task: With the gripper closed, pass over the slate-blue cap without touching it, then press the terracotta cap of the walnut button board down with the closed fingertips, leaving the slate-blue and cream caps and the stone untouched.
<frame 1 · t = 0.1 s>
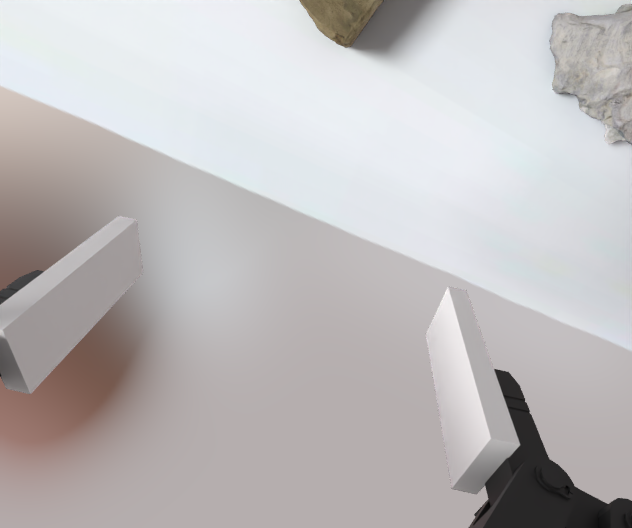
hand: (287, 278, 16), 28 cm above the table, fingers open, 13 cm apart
stone: (590, 70, 34), on the table
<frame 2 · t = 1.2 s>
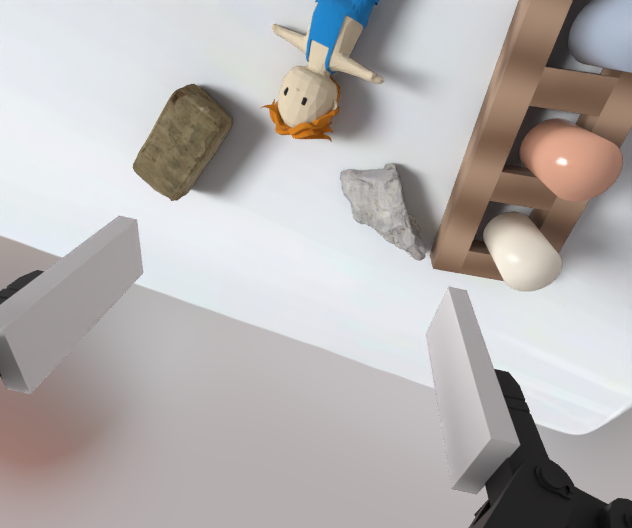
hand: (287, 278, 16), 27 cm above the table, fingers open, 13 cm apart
cap terracotta: (565, 157, 30), point 7 cm above the table, slide at 0.0 cm
cap slate: (629, 30, 26), point 7 cm above the table, slide at 0.0 cm
toy: (326, 54, 35), on the table
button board: (535, 137, 36), on the table
stone block: (193, 139, 41), on the table
stone: (384, 203, 42), on the table
cap cream: (518, 249, 35), point 7 cm above the table, slide at 0.0 cm
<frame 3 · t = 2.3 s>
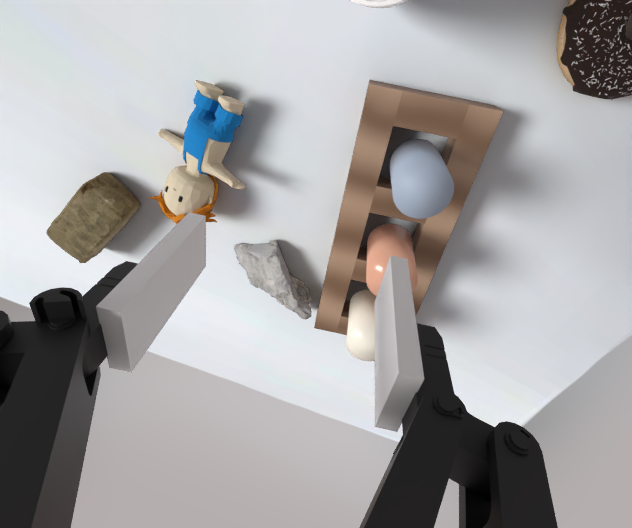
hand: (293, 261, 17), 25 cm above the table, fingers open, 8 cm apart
cap terracotta: (390, 260, 38), point 7 cm above the table, slide at 0.0 cm
cap slate: (418, 176, 33), point 7 cm above the table, slide at 0.0 cm
toy: (209, 153, 41), on the table
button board: (388, 229, 43), on the table
stone block: (107, 210, 47), on the table
stone: (277, 268, 49), on the table
cap cream: (368, 323, 43), point 7 cm above the table, slide at 0.0 cm
donut: (624, 19, 31), on the table
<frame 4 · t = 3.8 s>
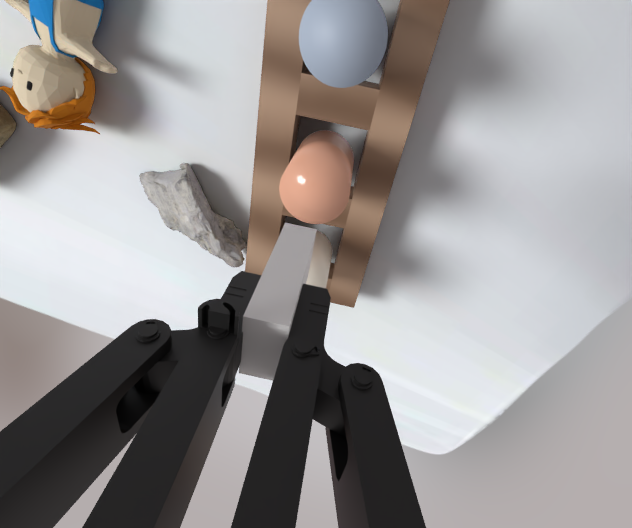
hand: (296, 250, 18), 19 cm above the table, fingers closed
cap terracotta: (320, 174, 28), point 7 cm above the table, slide at 0.0 cm
cap slate: (346, 36, 23), point 7 cm above the table, slide at 0.0 cm
toy: (82, 35, 31), on the table
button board: (328, 148, 33), on the table
stone: (199, 206, 39), on the table
cap cream: (302, 269, 33), point 7 cm above the table, slide at 0.0 cm
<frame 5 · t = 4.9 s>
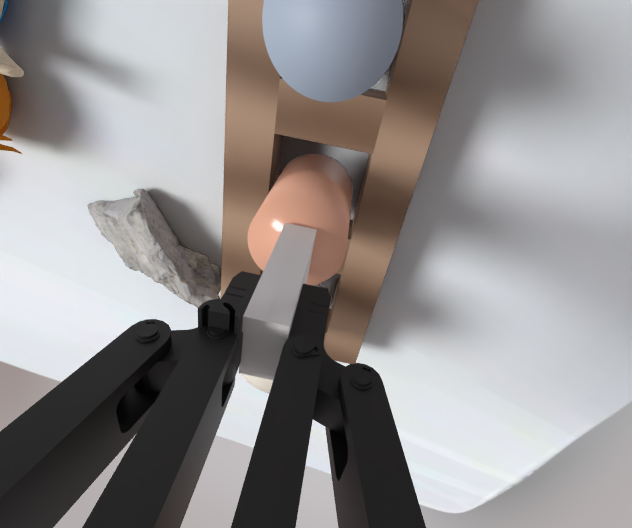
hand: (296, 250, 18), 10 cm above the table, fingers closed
cap terracotta: (307, 214, 21), point 7 cm above the table, slide at -0.1 cm, touching gripper
cap slate: (338, 25, 15), point 7 cm above the table, slide at 0.0 cm
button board: (320, 174, 26), on the table
stone: (166, 239, 32), on the table
cap cream: (287, 330, 26), point 7 cm above the table, slide at 0.0 cm
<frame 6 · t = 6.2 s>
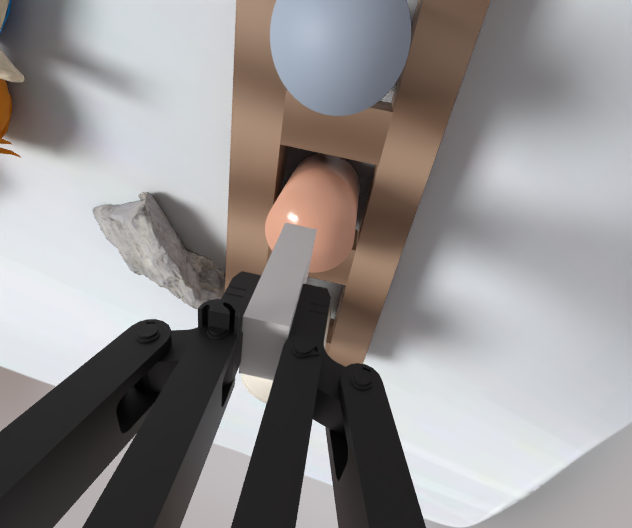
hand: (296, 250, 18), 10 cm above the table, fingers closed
cap terracotta: (317, 208, 23), point 4 cm above the table, slide at -2.5 cm
cap slate: (346, 39, 15), point 7 cm above the table, slide at 0.0 cm
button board: (325, 184, 26), on the table
stone: (170, 243, 31), on the table, touching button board
cap cream: (290, 341, 25), point 7 cm above the table, slide at 0.0 cm
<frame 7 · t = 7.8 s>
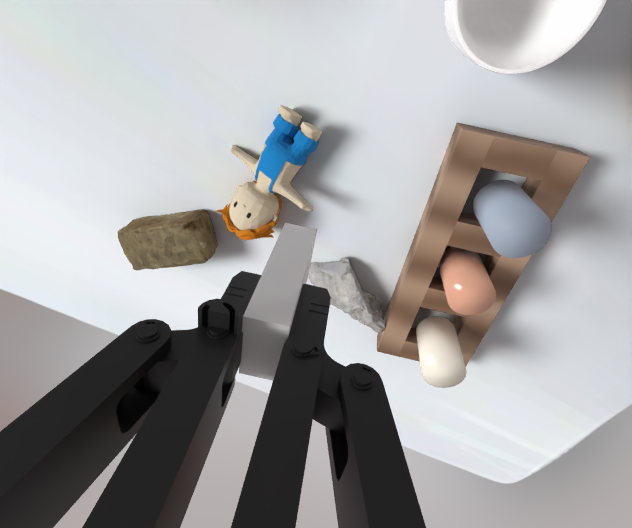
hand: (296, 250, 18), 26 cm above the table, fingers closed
cap terracotta: (464, 278, 41), point 4 cm above the table, slide at -2.5 cm
cap slate: (508, 217, 34), point 7 cm above the table, slide at 0.0 cm
toy: (275, 171, 43), on the table
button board: (458, 259, 45), on the table
stone block: (178, 230, 49), on the table
stone: (347, 284, 50), on the table
cap cream: (439, 350, 44), point 7 cm above the table, slide at 0.0 cm
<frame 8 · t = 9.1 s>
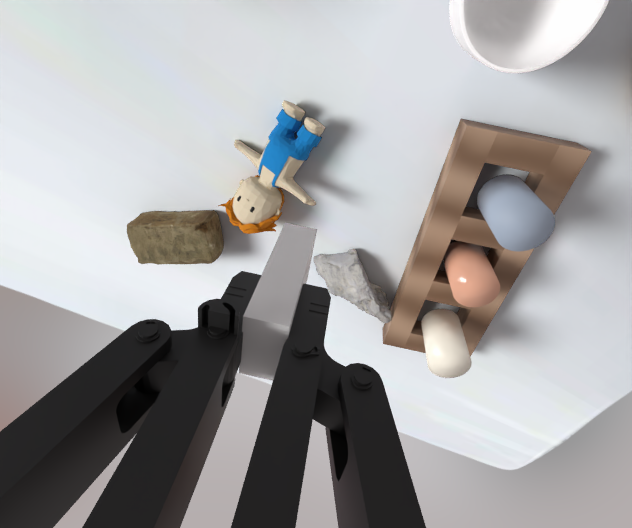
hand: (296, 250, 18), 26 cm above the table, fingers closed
cap terracotta: (469, 271, 42), point 4 cm above the table, slide at -2.5 cm
cap slate: (512, 211, 35), point 7 cm above the table, slide at 0.0 cm
toy: (277, 166, 43), on the table
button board: (461, 253, 46), on the table
stone block: (185, 227, 50), on the table
stone: (354, 276, 51), on the table
cap cream: (444, 342, 45), point 7 cm above the table, slide at 0.0 cm
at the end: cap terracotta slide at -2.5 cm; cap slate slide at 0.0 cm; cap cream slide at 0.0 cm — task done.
